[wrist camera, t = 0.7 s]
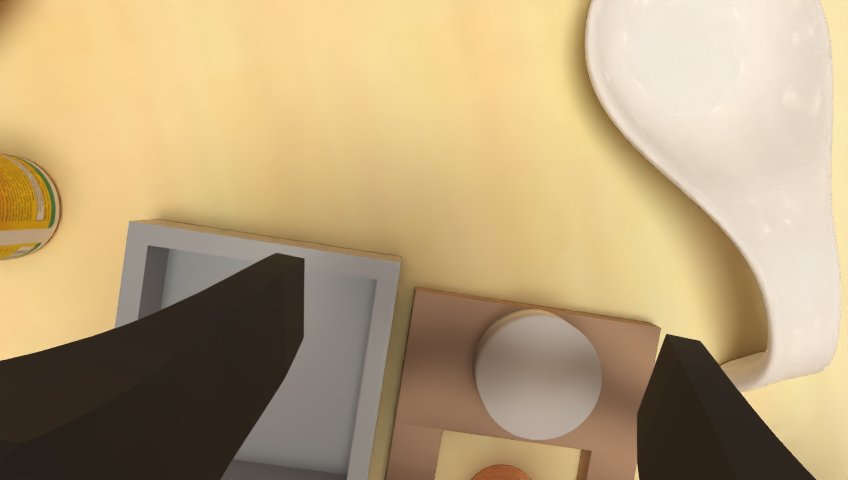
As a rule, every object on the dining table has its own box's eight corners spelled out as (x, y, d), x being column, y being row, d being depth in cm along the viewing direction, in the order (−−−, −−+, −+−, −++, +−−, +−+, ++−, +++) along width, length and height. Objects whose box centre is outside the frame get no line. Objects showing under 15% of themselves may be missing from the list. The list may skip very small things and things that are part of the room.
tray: (364, 490, 35) (360, 522, 31) (125, 458, 34) (93, 486, 31) (401, 256, 34) (401, 262, 31) (157, 219, 33) (129, 220, 30)
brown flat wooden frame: (597, 619, 36) (621, 671, 32) (367, 589, 35) (363, 638, 31) (649, 322, 35) (681, 338, 31) (415, 286, 34) (417, 298, 30)
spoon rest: (541, -17, 34) (579, -75, 27) (751, -76, 34) (844, -150, 27) (654, 402, 35) (718, 452, 28) (854, 342, 36) (968, 377, 28)
